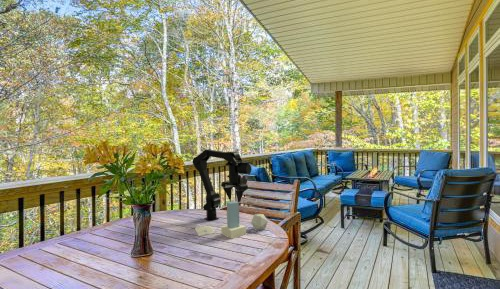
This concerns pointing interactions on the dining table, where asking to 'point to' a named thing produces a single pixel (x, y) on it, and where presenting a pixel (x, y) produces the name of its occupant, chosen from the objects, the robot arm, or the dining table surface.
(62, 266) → the dining table surface
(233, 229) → the base brick
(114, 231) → the dining table surface
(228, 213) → the blue brick
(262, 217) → the die
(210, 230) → the plate
